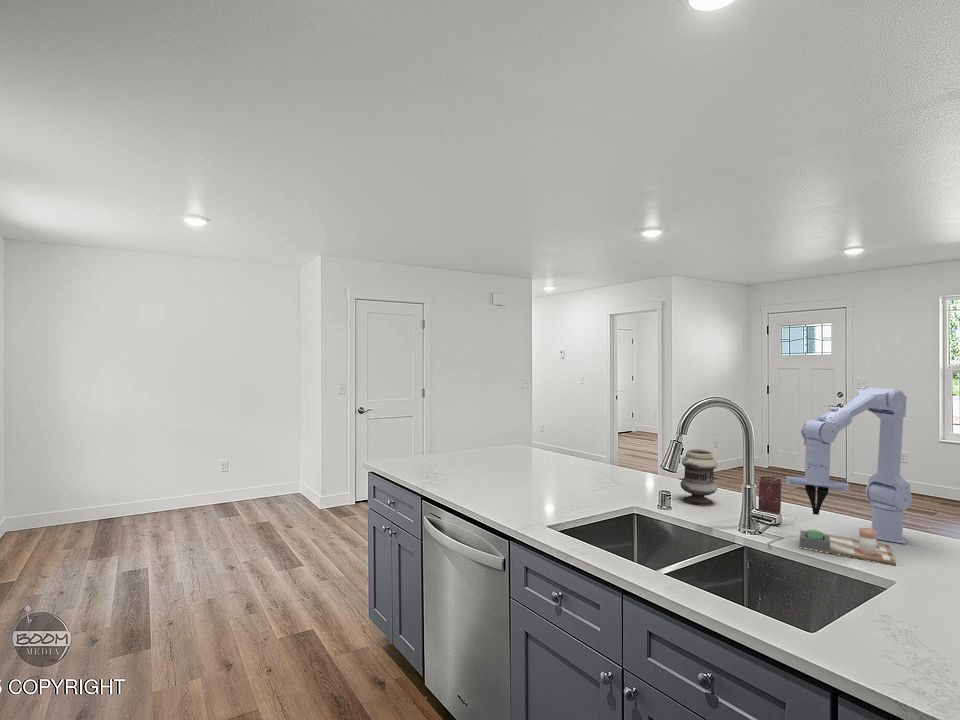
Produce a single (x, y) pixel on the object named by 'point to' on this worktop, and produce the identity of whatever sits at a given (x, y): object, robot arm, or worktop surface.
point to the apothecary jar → (699, 476)
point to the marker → (868, 541)
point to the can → (770, 494)
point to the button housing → (815, 542)
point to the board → (858, 550)
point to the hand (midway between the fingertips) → (815, 513)
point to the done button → (815, 534)
